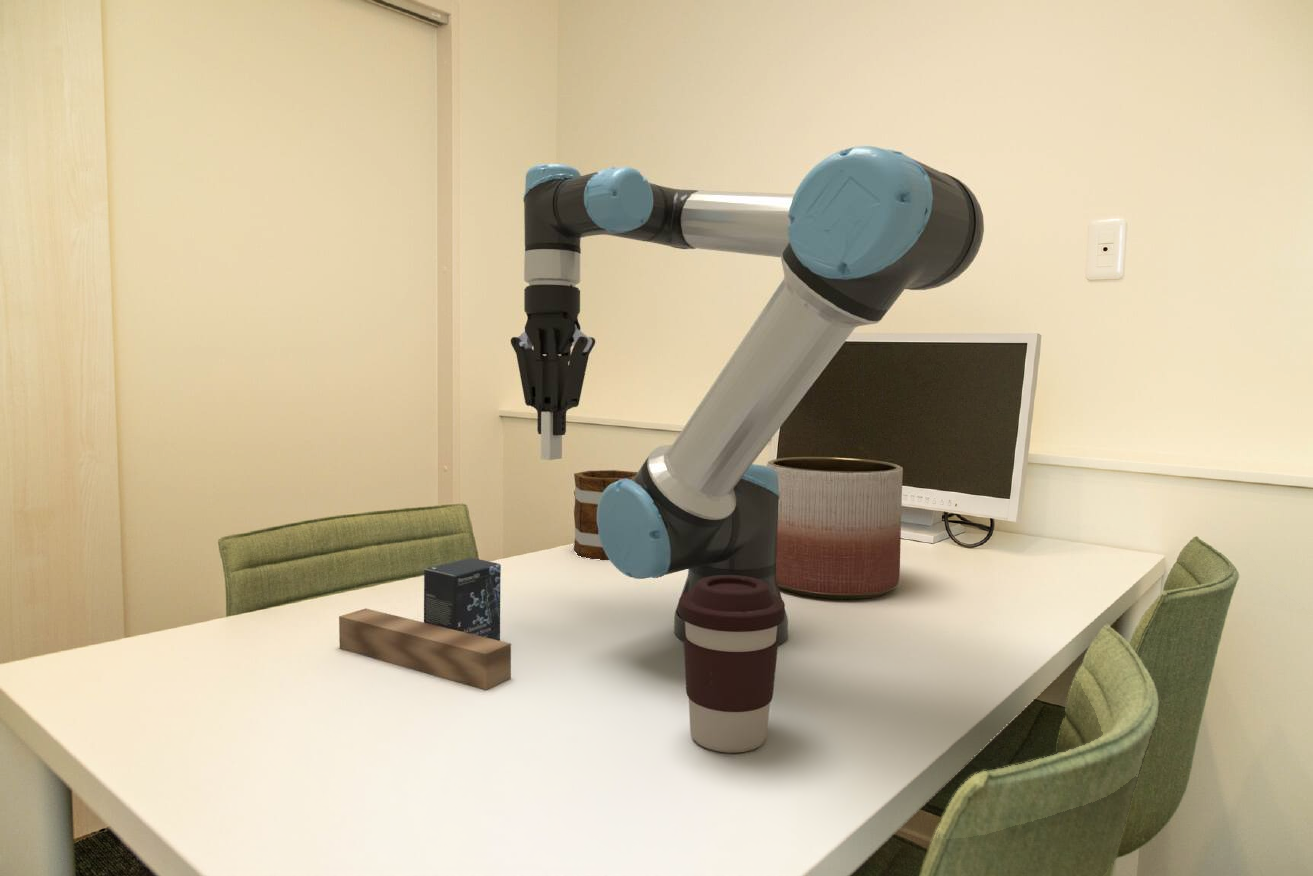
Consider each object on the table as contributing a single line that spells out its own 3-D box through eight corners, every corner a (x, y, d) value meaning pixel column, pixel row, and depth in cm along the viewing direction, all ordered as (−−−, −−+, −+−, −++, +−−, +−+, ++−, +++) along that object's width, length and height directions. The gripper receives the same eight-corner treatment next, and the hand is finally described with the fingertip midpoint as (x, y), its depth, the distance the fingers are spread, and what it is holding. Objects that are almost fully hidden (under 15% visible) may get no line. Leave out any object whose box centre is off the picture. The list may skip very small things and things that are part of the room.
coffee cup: (671, 716, 81) (674, 570, 80) (767, 714, 82) (771, 569, 81) (682, 763, 72) (686, 598, 70) (792, 760, 72) (797, 597, 71)
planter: (747, 592, 127) (750, 466, 126) (779, 562, 148) (782, 454, 146) (891, 610, 119) (896, 476, 118) (904, 576, 140) (909, 461, 138)
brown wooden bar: (510, 678, 91) (510, 643, 90) (486, 690, 87) (486, 654, 87) (366, 639, 103) (365, 608, 102) (339, 648, 99) (339, 616, 99)
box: (454, 663, 95) (454, 575, 94) (422, 653, 98) (421, 567, 97) (502, 644, 102) (502, 562, 101) (470, 636, 105) (470, 556, 104)
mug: (558, 550, 154) (559, 473, 153) (615, 542, 163) (616, 468, 162) (620, 571, 139) (621, 485, 138) (679, 560, 148) (680, 479, 147)
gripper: (607, 286, 109) (605, 459, 111) (532, 289, 115) (531, 453, 117) (574, 280, 102) (573, 464, 104) (497, 284, 109) (497, 457, 111)
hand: (551, 458), depth 111 cm, fingers closed
